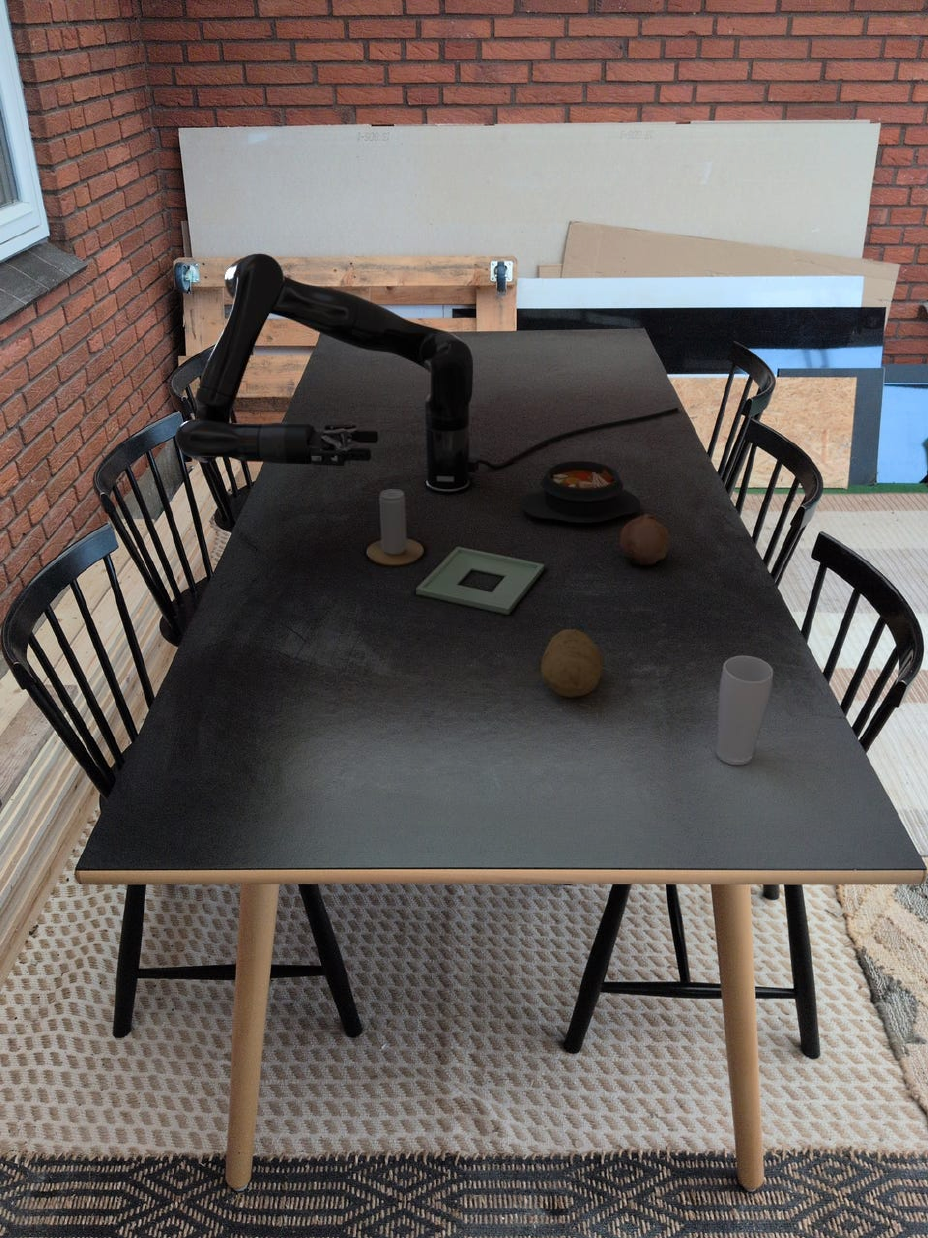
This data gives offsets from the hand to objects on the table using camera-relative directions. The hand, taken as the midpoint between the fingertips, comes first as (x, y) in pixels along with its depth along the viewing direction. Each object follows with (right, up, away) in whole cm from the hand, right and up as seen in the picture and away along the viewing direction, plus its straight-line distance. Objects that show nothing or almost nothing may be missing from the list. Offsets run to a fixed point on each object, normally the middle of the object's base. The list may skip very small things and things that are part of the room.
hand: (374, 445), depth 190 cm
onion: (+51, -21, +8) cm, 56 cm away
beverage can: (+3, -19, +11) cm, 22 cm away
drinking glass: (+55, -52, -42) cm, 86 cm away
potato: (+33, -43, -27) cm, 61 cm away
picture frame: (+20, -25, +1) cm, 32 cm away
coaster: (+3, -19, +11) cm, 22 cm away
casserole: (+41, -10, +27) cm, 50 cm away
